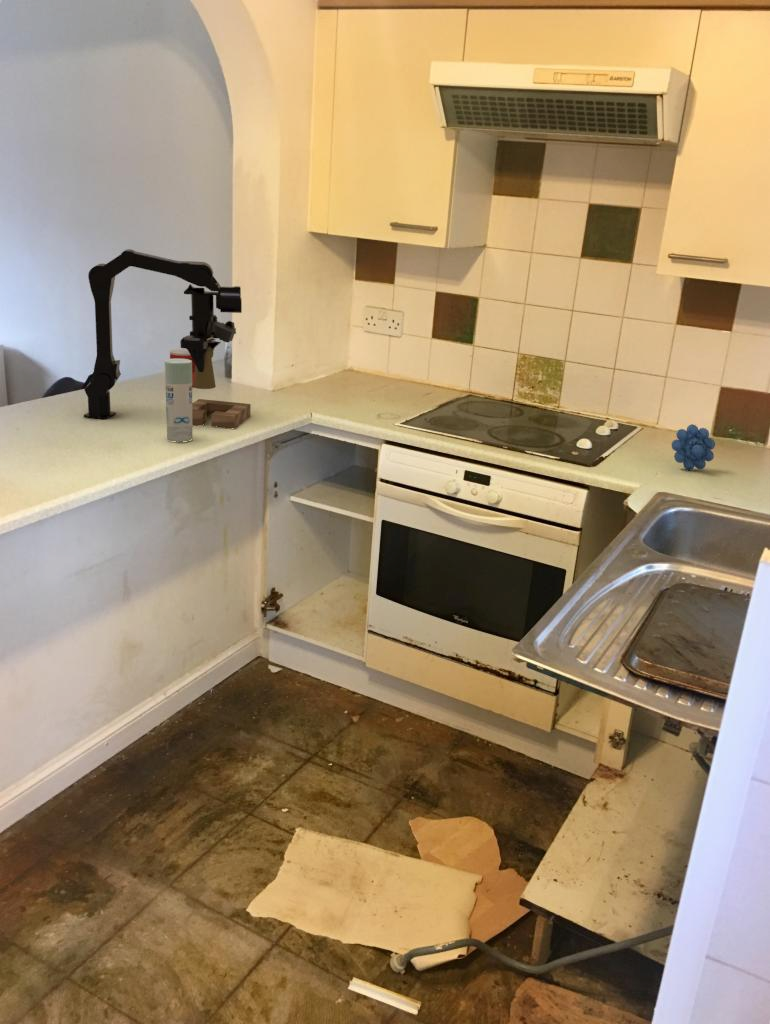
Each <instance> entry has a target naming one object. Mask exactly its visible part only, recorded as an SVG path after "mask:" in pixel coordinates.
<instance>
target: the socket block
mask: <svg viewBox="0 0 770 1024" xmlns="http://www.w3.org/2000/svg"><path fill="white" fill-rule="evenodd" d="M208 416H210V417H211V420H210V421H211V424H210V425H211V426H217V427H225V428H224V429H227V428H235V427H236V428H238V427H239V426H240V425H241V424H242V423H244V422H245V421H247V419H249V418H250V417H251V404H250V403H245V402H232V401H226V400H225V401H224V400H213V399H204V398H198V399H197V400H195V401H192V424H194V425H193V426H198V425H203V424H204V425H206V424H207V423H208ZM206 422H207V423H206ZM205 423H206V424H205ZM239 424H240V425H239ZM204 425H203V426H204ZM238 425H239V426H238ZM217 427H216V428H217ZM236 428H235V429H236Z"/></svg>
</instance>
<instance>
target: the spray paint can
mask: <svg viewBox="0 0 770 1024" xmlns="http://www.w3.org/2000/svg"><path fill="white" fill-rule="evenodd" d="M164 374H165V376H164V380H165V381H164V382H165V408H166V409H165V411H166V412H165V413H166V414H165V415H166V439H167V441H168V440H170V441H176V442H183V441H189V440H191V439H192V440H193V425H192V403H193V388H192V361H191V360H188V359H181V358H173V359H170V358H167V359H165V360H164ZM170 441H169V442H170Z"/></svg>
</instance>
